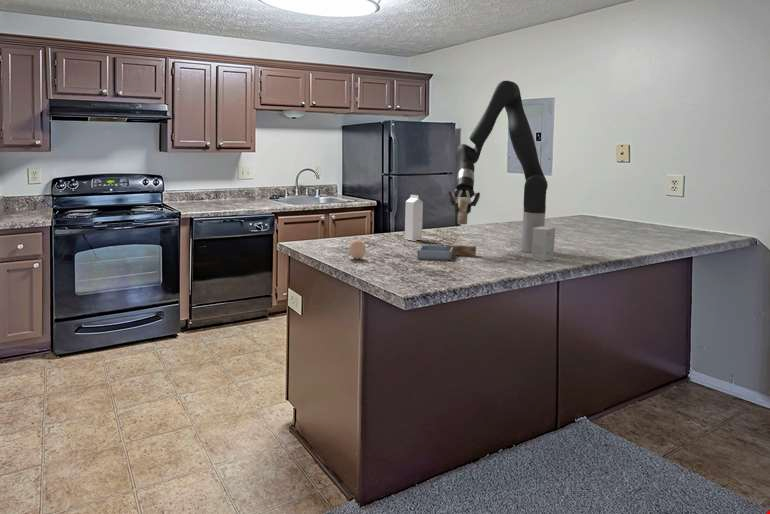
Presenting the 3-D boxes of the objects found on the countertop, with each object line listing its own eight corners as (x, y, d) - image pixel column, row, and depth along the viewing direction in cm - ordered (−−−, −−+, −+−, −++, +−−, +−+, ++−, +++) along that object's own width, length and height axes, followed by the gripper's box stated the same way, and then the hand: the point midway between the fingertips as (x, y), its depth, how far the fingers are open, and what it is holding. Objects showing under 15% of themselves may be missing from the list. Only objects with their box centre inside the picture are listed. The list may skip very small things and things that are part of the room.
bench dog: (475, 255, 238) (476, 245, 238) (475, 256, 236) (475, 247, 235) (447, 253, 241) (447, 244, 240) (446, 255, 238) (446, 245, 237)
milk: (412, 241, 271) (413, 195, 267) (404, 240, 276) (405, 194, 271) (422, 240, 275) (423, 195, 270) (414, 239, 279) (415, 194, 275)
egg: (367, 260, 224) (367, 240, 222) (351, 261, 222) (351, 241, 221) (363, 257, 230) (363, 238, 229) (347, 257, 228) (347, 238, 227)
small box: (539, 256, 238) (541, 225, 235) (553, 258, 234) (555, 227, 231) (530, 259, 232) (532, 227, 229) (545, 261, 228) (547, 229, 225)
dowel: (467, 223, 242) (468, 197, 239) (466, 224, 238) (467, 198, 236) (457, 222, 242) (458, 197, 240) (457, 224, 238) (458, 197, 236)
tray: (453, 254, 239) (453, 246, 238) (450, 260, 226) (451, 252, 225) (421, 253, 241) (421, 245, 241) (417, 258, 228) (417, 250, 228)
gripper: (448, 175, 245) (445, 206, 236) (481, 176, 243) (479, 207, 233) (449, 186, 251) (445, 217, 242) (481, 187, 249) (479, 218, 239)
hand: (462, 212), depth 238 cm, fingers closed on dowel, 4 cm apart
